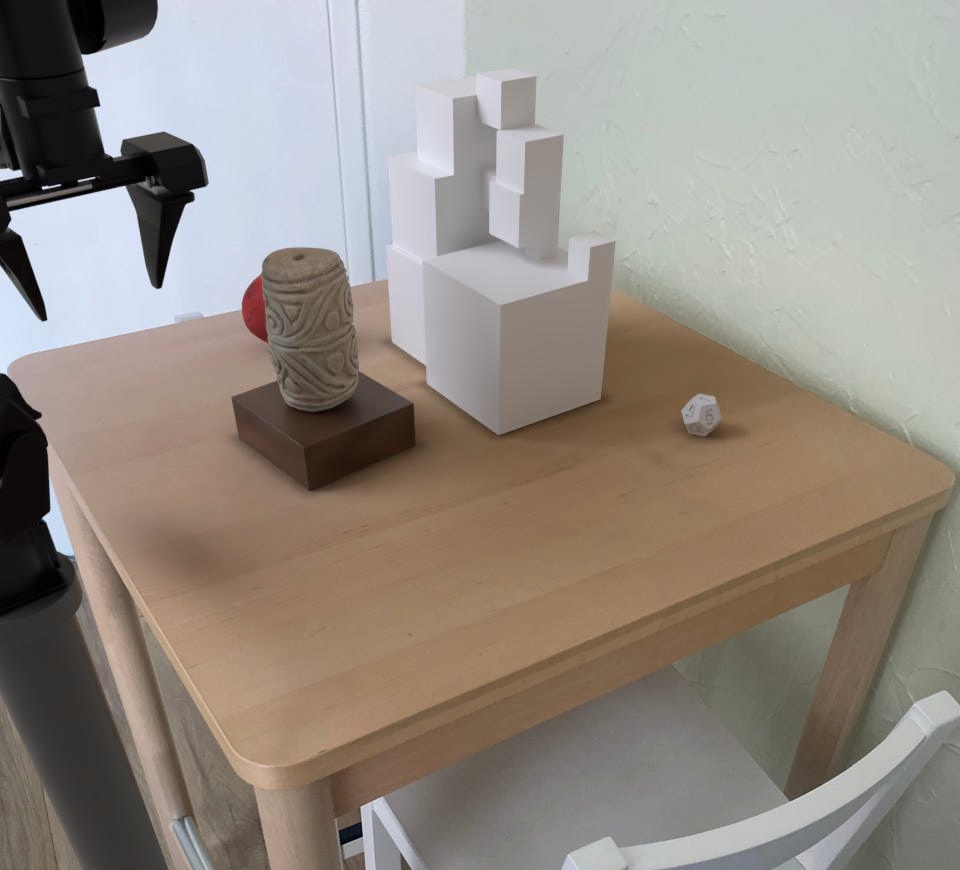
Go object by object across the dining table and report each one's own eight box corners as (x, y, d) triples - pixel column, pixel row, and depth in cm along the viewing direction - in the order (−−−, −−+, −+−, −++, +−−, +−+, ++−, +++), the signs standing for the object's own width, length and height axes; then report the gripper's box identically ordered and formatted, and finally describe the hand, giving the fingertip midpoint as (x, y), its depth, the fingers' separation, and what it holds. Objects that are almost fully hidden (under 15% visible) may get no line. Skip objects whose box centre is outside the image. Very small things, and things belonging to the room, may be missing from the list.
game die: (707, 445, 83) (712, 414, 81) (670, 431, 85) (675, 400, 83) (727, 429, 85) (733, 399, 83) (691, 416, 87) (696, 385, 85)
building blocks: (600, 399, 89) (629, 97, 73) (498, 435, 84) (503, 120, 68) (470, 319, 102) (469, 48, 86) (375, 346, 97) (354, 64, 81)
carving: (260, 406, 80) (236, 261, 72) (322, 372, 84) (306, 232, 76) (316, 429, 77) (298, 280, 69) (377, 393, 82) (366, 249, 74)
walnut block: (309, 491, 78) (303, 447, 75) (238, 438, 84) (230, 396, 81) (415, 445, 83) (414, 403, 80) (342, 398, 89) (338, 358, 86)
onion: (250, 361, 95) (237, 281, 89) (245, 337, 99) (232, 258, 94) (309, 355, 96) (300, 275, 91) (301, 331, 100) (292, 253, 95)
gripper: (117, 32, 72) (163, 244, 82) (-151, 69, 63) (-61, 303, 73) (190, 57, 66) (229, 283, 76) (-96, 102, 56) (-6, 352, 67)
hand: (101, 303), depth 73 cm, fingers open, 9 cm apart
